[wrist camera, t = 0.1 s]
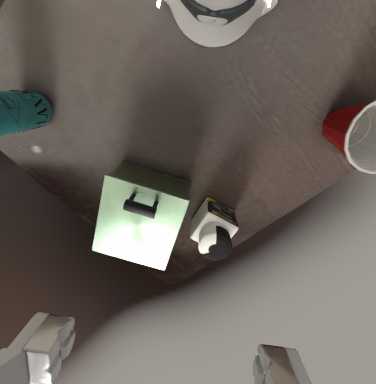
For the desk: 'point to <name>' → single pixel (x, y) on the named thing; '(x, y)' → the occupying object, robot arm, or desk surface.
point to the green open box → (153, 179)
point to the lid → (138, 222)
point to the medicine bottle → (214, 229)
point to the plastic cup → (354, 134)
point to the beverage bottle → (23, 111)
